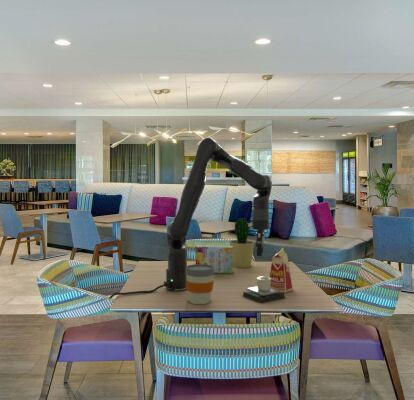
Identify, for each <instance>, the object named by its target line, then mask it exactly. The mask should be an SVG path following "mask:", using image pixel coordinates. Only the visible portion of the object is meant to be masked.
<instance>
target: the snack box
mask: <svg viewBox="0 0 414 400" xmlns="http://www.w3.org/2000/svg"><path fill="white" fill-rule="evenodd" d="M194 255H195V256H194V257H195V258H194V259H195V262H194V264H205V265H211V266H213V267H214V274H233V273H234V271H233V270H234V269H233V267H234V266H233V246H230V245H196V246H195V254H194Z"/></svg>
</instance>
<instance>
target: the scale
mask: <svg viewBox="0 0 414 400" xmlns="http://www.w3.org/2000/svg"><path fill="white" fill-rule="evenodd" d="M285 295H286V294H285V292H279V293H274V294H269V295H264V296H262V295H260V294H257V293H254V292H251V291H248V290H245V291H243V292H242V296H243V297H244V298H247V299H250V300H252V301H255V302H257V303H260V304H263V303H267V302H272V301H276V300H281V299H285V297H286V296H285Z"/></svg>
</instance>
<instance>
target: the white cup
mask: <svg viewBox="0 0 414 400" xmlns="http://www.w3.org/2000/svg"><path fill="white" fill-rule="evenodd" d="M269 277H270V276H258V277H257V278H256V286H257V288H258V289H259V290H262V291H267V290H270V288H271V278H269Z"/></svg>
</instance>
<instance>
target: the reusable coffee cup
mask: <svg viewBox="0 0 414 400" xmlns="http://www.w3.org/2000/svg"><path fill="white" fill-rule="evenodd" d="M185 274H186V277H187V279H186V284H187V289H186V290H187V292H188V301H189V303H191V304H194V305H206V304H209V303H210V302H211V297H212V291H213V288H214V275H215V273H214V267H213V266H211V265H205V264H195V263H193V264H189V265H187V266H186V273H185Z"/></svg>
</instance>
